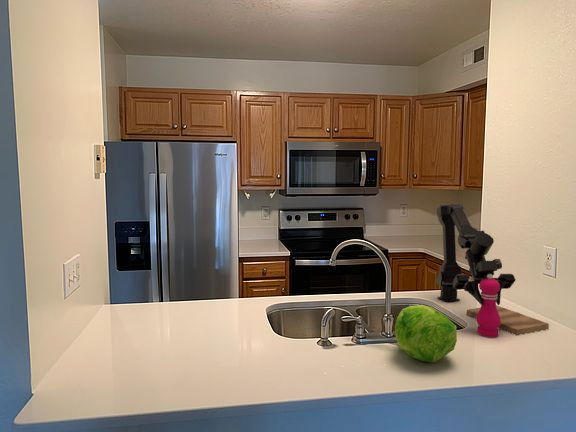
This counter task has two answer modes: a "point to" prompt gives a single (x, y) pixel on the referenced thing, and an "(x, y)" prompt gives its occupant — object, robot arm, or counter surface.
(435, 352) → the lettuce
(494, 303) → the pepper mill
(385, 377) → the counter surface
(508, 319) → the walnut board
